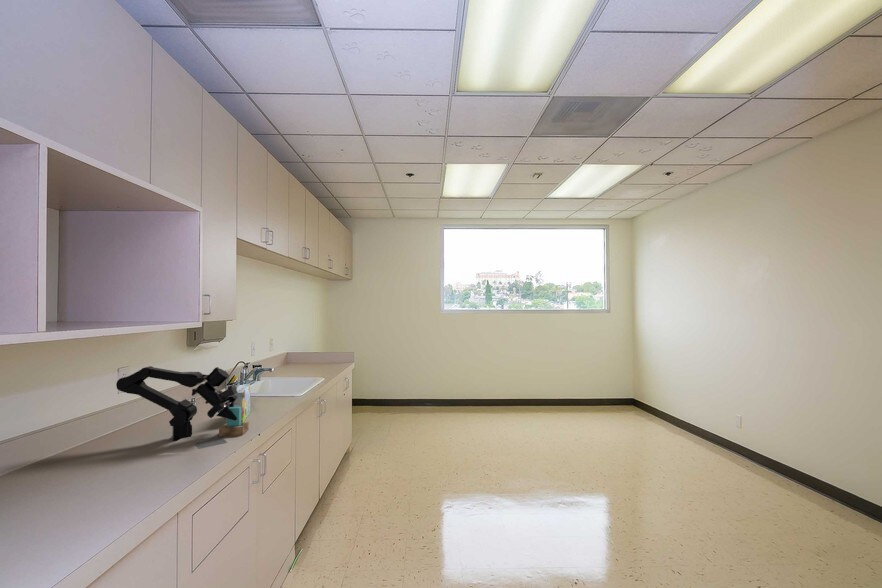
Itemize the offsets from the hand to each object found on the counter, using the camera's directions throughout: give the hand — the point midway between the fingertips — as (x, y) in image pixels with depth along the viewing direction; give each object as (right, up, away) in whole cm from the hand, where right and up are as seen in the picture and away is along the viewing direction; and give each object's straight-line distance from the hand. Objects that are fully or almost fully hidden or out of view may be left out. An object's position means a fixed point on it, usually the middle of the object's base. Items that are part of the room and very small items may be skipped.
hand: (237, 418), depth 169 cm
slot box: (-1, -7, 0) cm, 7 cm away
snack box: (-11, -8, +25) cm, 29 cm away
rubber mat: (-5, -6, -12) cm, 14 cm away
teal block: (-1, -6, 0) cm, 6 cm away
